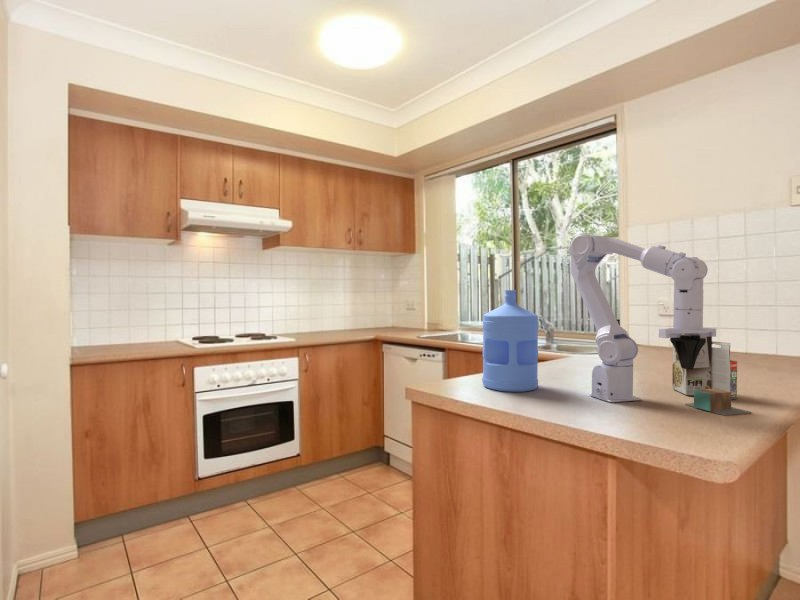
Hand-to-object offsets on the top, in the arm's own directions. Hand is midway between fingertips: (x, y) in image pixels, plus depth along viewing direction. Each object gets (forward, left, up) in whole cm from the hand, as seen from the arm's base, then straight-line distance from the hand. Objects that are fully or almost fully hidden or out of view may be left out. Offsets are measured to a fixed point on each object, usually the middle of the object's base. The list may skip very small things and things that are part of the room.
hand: (687, 368), depth 104 cm
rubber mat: (+9, 0, -10) cm, 13 cm away
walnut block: (+4, 0, -8) cm, 9 cm away
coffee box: (+18, +15, -10) cm, 25 cm away
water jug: (-26, +35, -10) cm, 45 cm away
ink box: (+21, +10, -10) cm, 25 cm away
